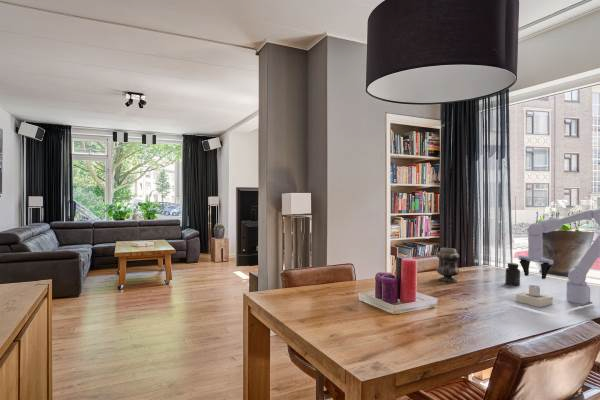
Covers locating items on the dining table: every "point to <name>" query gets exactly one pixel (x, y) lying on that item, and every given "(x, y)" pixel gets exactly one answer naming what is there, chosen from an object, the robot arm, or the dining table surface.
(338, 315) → the dining table surface
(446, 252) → the apothecary jar
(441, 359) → the dining table surface
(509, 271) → the supplement bottle
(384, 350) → the dining table surface
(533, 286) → the metal peg
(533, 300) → the cream recessed block
